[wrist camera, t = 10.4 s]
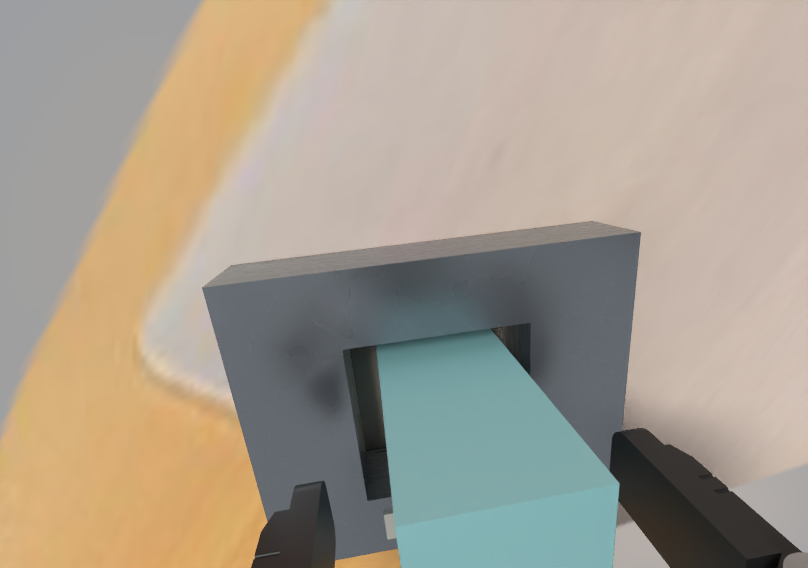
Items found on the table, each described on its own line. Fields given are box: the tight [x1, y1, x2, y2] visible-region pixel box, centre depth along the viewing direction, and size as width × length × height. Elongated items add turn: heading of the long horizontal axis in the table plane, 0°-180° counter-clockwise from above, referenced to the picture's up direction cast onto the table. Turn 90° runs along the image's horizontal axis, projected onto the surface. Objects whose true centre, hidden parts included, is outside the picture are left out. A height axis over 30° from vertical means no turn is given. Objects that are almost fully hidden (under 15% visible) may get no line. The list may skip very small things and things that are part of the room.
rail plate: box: [202, 221, 641, 560], centre depth 14 cm, size 13×11×3 cm
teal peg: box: [376, 329, 620, 568], centre depth 11 cm, size 4×4×8 cm
